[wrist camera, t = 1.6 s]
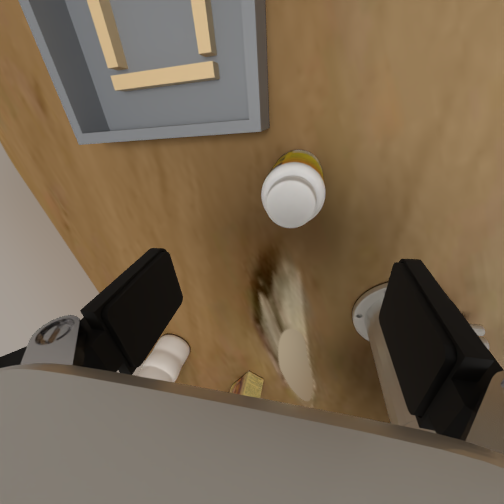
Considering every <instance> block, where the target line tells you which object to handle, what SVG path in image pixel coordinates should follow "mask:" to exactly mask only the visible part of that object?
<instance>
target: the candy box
mask: <svg viewBox="0 0 504 504" xmlns="http://www.w3.org/2000/svg"><path fill="white" fill-rule="evenodd" d="M263 381H264V379H263V378H261V377H259V376H257V375H255V374H254V373H252V372H250V371H248V372H247V373H246V374H245V375H244V376H243V377H241V378H240V379H239V380H238V381H237V382H235V383H234V384H233V385H232V386H231V390H230V393H234V394H239V395H245V396H250V397H256V398H260V397H261V392H262V386H263Z"/></svg>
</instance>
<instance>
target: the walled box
mask: <svg viewBox="0 0 504 504" xmlns="http://www.w3.org/2000/svg"><path fill="white" fill-rule="evenodd" d="M19 3H20V5H21V8H22V10H23V12H24V15H25V17H26V19H27V22H28V24H29V27H30V29H31V31H32V34H33V36H34V39H35V41H36V43H37V46H38V48H39V50H40V53H41V55H42V58H43V60H44V62H45V65H46V67H47V69H48V72H49V74H50V77H51V79H52V81H53V84H54V86H55V88H56V91H57V93H58V96H59V98H60V100H61V103H62V105H63V108H64V110H65V112H66V115H67V117H68V119H69V122H70V124H71V127H72V129H73V131H74V134H75V136H76V138H77V141H78V143H79V145H81V144H95V143H109V142H123V141H137V140H150V139H164V138H178V137H192V136H206V135H220V134H234V133H248V132H261V131H263V130H266V129H268V128H269V100H268V69H267V39H266V8H265V0H19Z"/></svg>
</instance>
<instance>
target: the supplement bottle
mask: <svg viewBox="0 0 504 504" xmlns="http://www.w3.org/2000/svg"><path fill="white" fill-rule="evenodd" d="M261 198H262V203H263V206H264V208H265V210H266V212H267V214H268V216H269V217H270V219H271V220H272V221H273V222H274V223H276V224H277V225H279V226H281V227H285V228H296V227H300V226H302V225H304V224H305V223H307V222H308V221H310V220H311V219H313V218H314V217H315V216H316V215H317V214H318V213H319V211H320V210H321V208H322V206H323V204H324V201H325V184H324V179H323V173H322V168H321V164H320V162H319V161H318V159H317V158H316V157H315V156H314V155H313V154H311V153H310V152H308V151H305V150H293V151H290V152H287V153H286V154H284V155H283V156H281V157H280V158H279V160H278V161H277V162H276V164H275V165H274V167H273V168H272V170H271V171H270V173H269V174H268V176H267V177H266V179H265V181H264V183H263V186H262V191H261Z"/></svg>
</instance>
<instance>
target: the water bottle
mask: <svg viewBox="0 0 504 504" xmlns="http://www.w3.org/2000/svg"><path fill="white" fill-rule="evenodd" d="M189 353H190V349H189V346H188V344H187V343H186V342H185V341H184V340H183V339H182V338H180V337H178V336H175V335H164V336H162V337H161V338H160V339H159V341H158V342H157V344H156V345H155V347H154V349H153V351H152V353H151V354H150V355H149V356H148V358H147V359H146V361H145V362H144V364H143V366H142V369H141V370H140V371H139V373H138V374H137V375H136V376H140V377H146V378H151V379H157V380H163V381H168V382H175V380H176V379H177V377H178V375H179V373H180V370H181V367H182V366H183V364H184V363H185V361H186V359H187V357H188V355H189Z"/></svg>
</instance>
